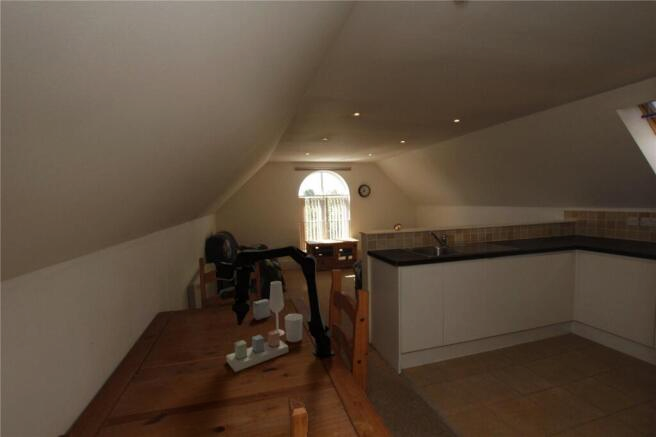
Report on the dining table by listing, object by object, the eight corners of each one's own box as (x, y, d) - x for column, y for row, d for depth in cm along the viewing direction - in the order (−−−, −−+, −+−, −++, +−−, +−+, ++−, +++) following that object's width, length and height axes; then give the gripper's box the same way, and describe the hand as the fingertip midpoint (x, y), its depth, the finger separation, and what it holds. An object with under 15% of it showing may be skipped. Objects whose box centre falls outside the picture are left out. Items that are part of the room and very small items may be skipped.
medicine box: (266, 314, 161) (265, 298, 161) (270, 316, 158) (270, 300, 157) (253, 318, 156) (252, 302, 155) (257, 320, 153) (256, 304, 152)
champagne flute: (286, 334, 135) (284, 283, 134) (271, 337, 133) (269, 285, 131) (283, 329, 141) (281, 279, 140) (269, 331, 139) (267, 281, 138)
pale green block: (247, 355, 111) (246, 343, 111) (238, 359, 109) (237, 346, 109) (243, 352, 114) (243, 339, 114) (235, 355, 112) (234, 342, 112)
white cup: (300, 343, 126) (299, 320, 126) (282, 342, 128) (282, 319, 127) (305, 335, 134) (304, 314, 133) (288, 334, 135) (288, 313, 135)
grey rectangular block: (264, 350, 116) (263, 337, 115) (255, 352, 113) (255, 340, 113) (260, 346, 118) (259, 334, 118) (252, 349, 116) (251, 337, 116)
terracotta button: (279, 344, 120) (279, 332, 120) (272, 347, 118) (271, 334, 118) (275, 341, 123) (275, 329, 122) (268, 344, 120) (268, 332, 120)
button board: (288, 351, 119) (288, 345, 119) (235, 371, 106) (235, 365, 106) (277, 343, 126) (277, 338, 126) (226, 361, 113) (226, 355, 113)
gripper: (224, 274, 123) (221, 310, 124) (219, 288, 105) (215, 330, 106) (251, 275, 126) (248, 311, 127) (251, 289, 108) (247, 330, 109)
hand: (239, 319), depth 117 cm, fingers open, 9 cm apart
